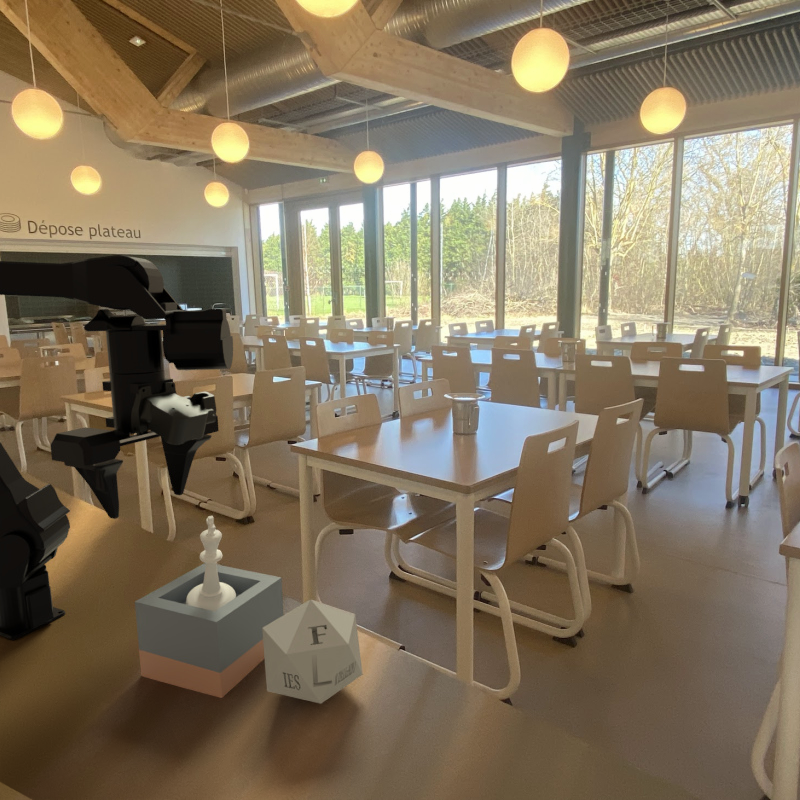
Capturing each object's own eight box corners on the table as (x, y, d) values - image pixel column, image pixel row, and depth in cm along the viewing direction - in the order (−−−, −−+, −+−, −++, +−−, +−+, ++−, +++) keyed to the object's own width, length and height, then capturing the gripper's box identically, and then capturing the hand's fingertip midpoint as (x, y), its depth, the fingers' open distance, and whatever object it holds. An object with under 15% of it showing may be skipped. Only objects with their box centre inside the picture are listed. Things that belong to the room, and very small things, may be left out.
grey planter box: (141, 677, 64) (134, 601, 62) (210, 629, 73) (206, 562, 71) (222, 702, 59) (216, 621, 58) (284, 648, 68) (281, 577, 67)
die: (271, 743, 54) (265, 631, 52) (264, 682, 62) (258, 584, 61) (371, 723, 56) (368, 616, 54) (350, 667, 64) (348, 572, 63)
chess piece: (229, 582, 68) (229, 499, 64) (242, 611, 64) (244, 525, 60) (180, 593, 66) (178, 508, 62) (192, 625, 62) (190, 536, 58)
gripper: (114, 386, 60) (128, 545, 63) (249, 365, 76) (256, 492, 79) (40, 380, 65) (55, 527, 68) (181, 362, 82) (189, 481, 84)
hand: (148, 505), depth 75 cm, fingers open, 9 cm apart
